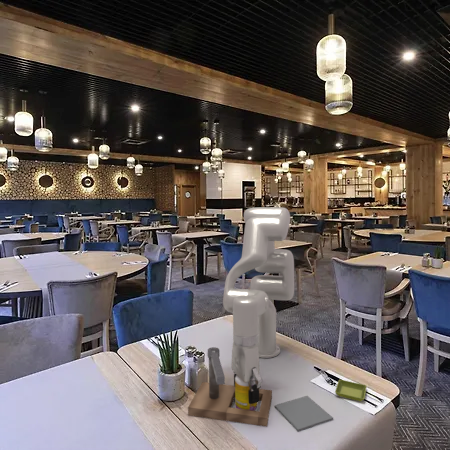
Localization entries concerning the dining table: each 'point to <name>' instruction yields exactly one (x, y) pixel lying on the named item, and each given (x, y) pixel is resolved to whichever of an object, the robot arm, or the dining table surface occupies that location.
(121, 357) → the dining table surface
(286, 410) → the coaster pad
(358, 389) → the olive square tray
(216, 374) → the retention bar
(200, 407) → the collar stand
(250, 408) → the supplement bottle
